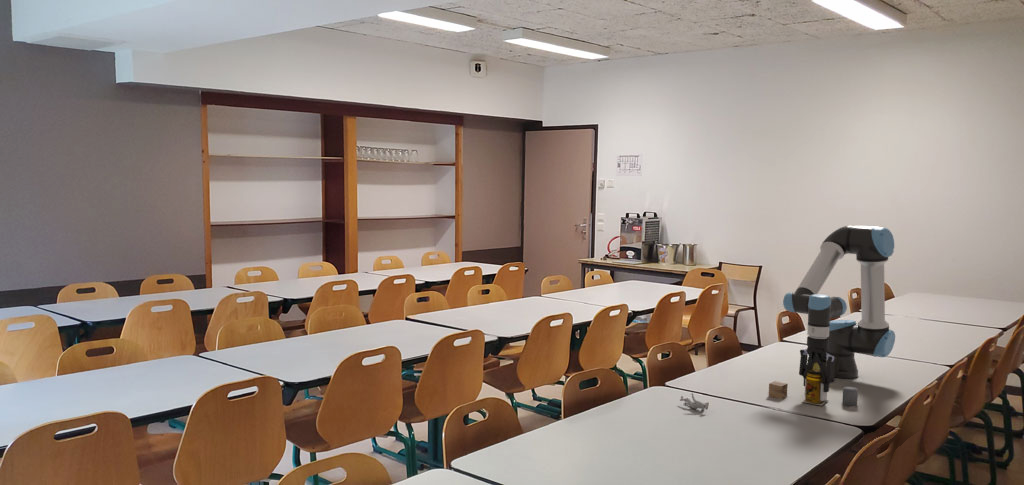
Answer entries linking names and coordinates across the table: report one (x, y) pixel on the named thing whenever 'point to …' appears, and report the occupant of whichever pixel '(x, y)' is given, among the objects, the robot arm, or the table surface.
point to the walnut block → (778, 389)
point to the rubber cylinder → (850, 396)
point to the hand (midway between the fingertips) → (815, 397)
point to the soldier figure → (695, 403)
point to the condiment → (813, 387)
